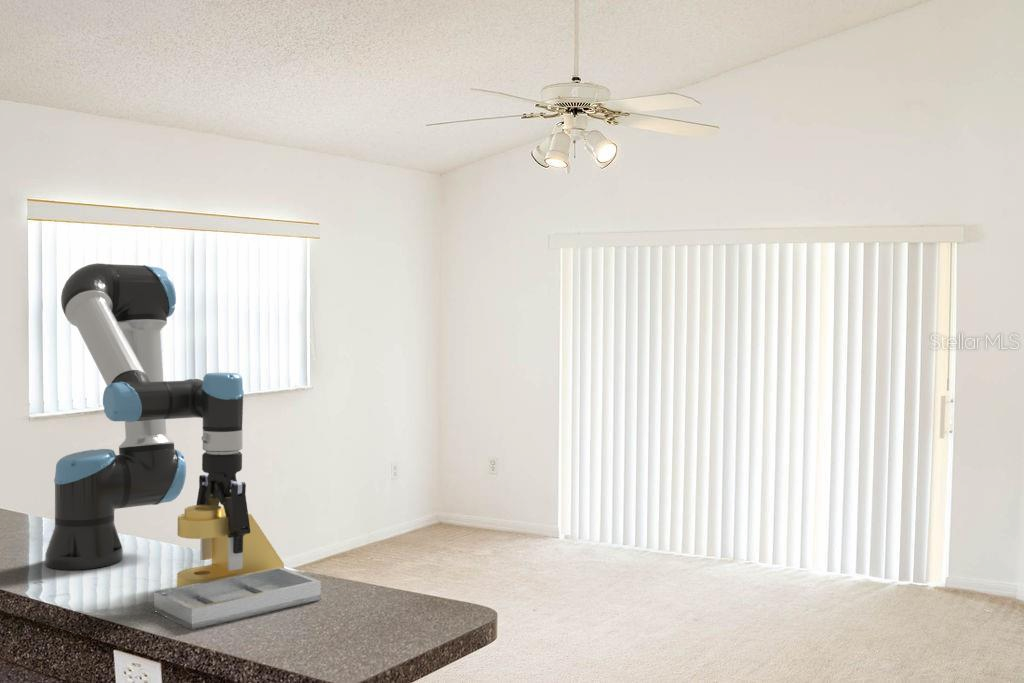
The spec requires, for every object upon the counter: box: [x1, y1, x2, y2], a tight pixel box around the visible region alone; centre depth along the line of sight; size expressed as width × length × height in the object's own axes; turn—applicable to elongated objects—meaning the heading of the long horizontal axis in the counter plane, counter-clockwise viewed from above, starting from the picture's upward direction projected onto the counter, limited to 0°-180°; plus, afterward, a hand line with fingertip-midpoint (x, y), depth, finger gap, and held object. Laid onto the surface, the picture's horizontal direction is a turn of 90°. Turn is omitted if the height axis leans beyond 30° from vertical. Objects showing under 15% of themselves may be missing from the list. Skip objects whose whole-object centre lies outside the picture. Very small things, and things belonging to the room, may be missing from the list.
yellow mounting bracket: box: [176, 505, 285, 587], centre depth 190 cm, size 20×9×16 cm, turn 137°
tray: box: [153, 567, 322, 631], centre depth 176 cm, size 14×26×4 cm, turn 136°
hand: (221, 564), depth 189 cm, fingers open, 10 cm apart
